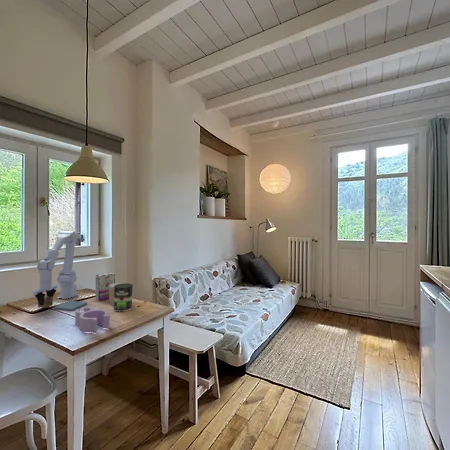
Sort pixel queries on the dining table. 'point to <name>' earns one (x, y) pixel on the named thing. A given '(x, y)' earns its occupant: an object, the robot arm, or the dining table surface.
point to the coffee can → (122, 297)
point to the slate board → (70, 305)
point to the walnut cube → (47, 302)
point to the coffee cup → (112, 293)
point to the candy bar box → (104, 285)
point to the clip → (91, 319)
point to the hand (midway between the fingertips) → (45, 303)
